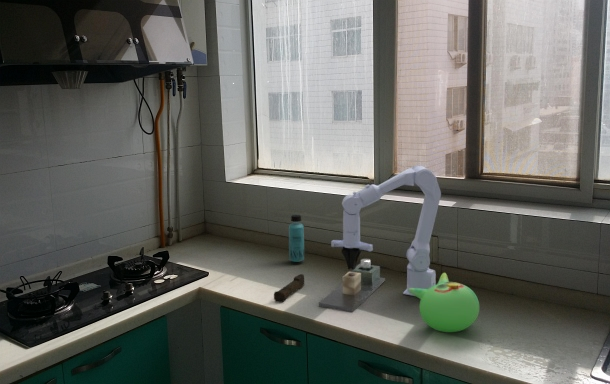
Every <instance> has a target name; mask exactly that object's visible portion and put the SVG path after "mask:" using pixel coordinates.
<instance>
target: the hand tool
mask: <svg viewBox="0 0 610 384" xmlns="http://www.w3.org/2000/svg"><path fill="white" fill-rule="evenodd" d="M304 285H305V275H304V274H303V273H300V274H298V275H296V276H294V277H293V280H292V281H290V282H289V283H288V284H287V285H285V286H283V287H282V288H281V289H279V290H277V291H274V293H273V300H274V301H275V302H277V303H283V302H284V301H286V299H287V298H288V297H290V296H292V294H293V293H295V292H297V291H298V290H301V289H303V287H304Z"/></svg>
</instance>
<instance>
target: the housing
mask: <svg viewBox="0 0 610 384" xmlns="http://www.w3.org/2000/svg"><path fill="white" fill-rule="evenodd" d="M341 278H342V284H343V294H349V295H355V294H357V293H358V292H359V291H360V290H361V273H357V272H351V271H347V273H346V274H344V275H343V276H342V277H341Z"/></svg>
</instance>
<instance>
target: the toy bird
mask: <svg viewBox="0 0 610 384" xmlns="http://www.w3.org/2000/svg"><path fill="white" fill-rule="evenodd" d="M408 291H409V292H410V293H412V294H413V295H415V296H414V297H416V298H418V299H420V300H419V313H420V316H421V318H422V320H423V321H424V322H425V323H426V325H427V326H429V327H430V328H432V329H434V330H436V331H439V332H442V333H455V332H457V333H458V332H461V331H463V330H466V329H467V328H469V327H470V326H471V325H473V324H474V322H475V321H476V319H477V318H478V316H479V313H480V302H479V299H478V296H477V295H476V293H475V292H474V290H472V289H471V288H470V287H468V286H467V285H465V284H462V283H459V282H454V281H449V278H448V275H447V273H446V272H443V273H441V275H440V277H439V279H438V282H437V283H436V284H435V285H434V286H432V287H430V288H429V289H421V288H409V289H408Z"/></svg>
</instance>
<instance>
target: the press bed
mask: <svg viewBox="0 0 610 384" xmlns="http://www.w3.org/2000/svg"><path fill="white" fill-rule="evenodd" d="M350 270H351V271H350V272H357V273H361V290H360V291H359V292H358V293H357V294H355V295H349V294H343V283H341V284H340V285H339V286H338V287H336V288H335V289H334V290H332V292H330V293H329V294H328V295H326V297H324V298H323V299H321V300H320V301H319V302H318V307H321V308H328V309H333V310H338V311H345V312H349V313H353V312H354V311H356V310H357V309H358V307H360V306H361V305H362V304H363V303H364V302H365V301H366V300H367V299H368V298H369V297H370V296H371V295H372V294H373V293H374V292H375V291H377V289H379V287H381V286H382V285H383V284H384V283H385V282H386V278H385V277H381V266H379V265H374V264H372V265H371V270H370V271H367V270H361V263H358V264H356V268H355V269H354V270H352V269H350ZM384 281H385V282H384ZM383 282H384V283H383ZM382 283H383V284H382ZM381 284H382V285H381ZM380 285H381V286H380Z"/></svg>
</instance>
